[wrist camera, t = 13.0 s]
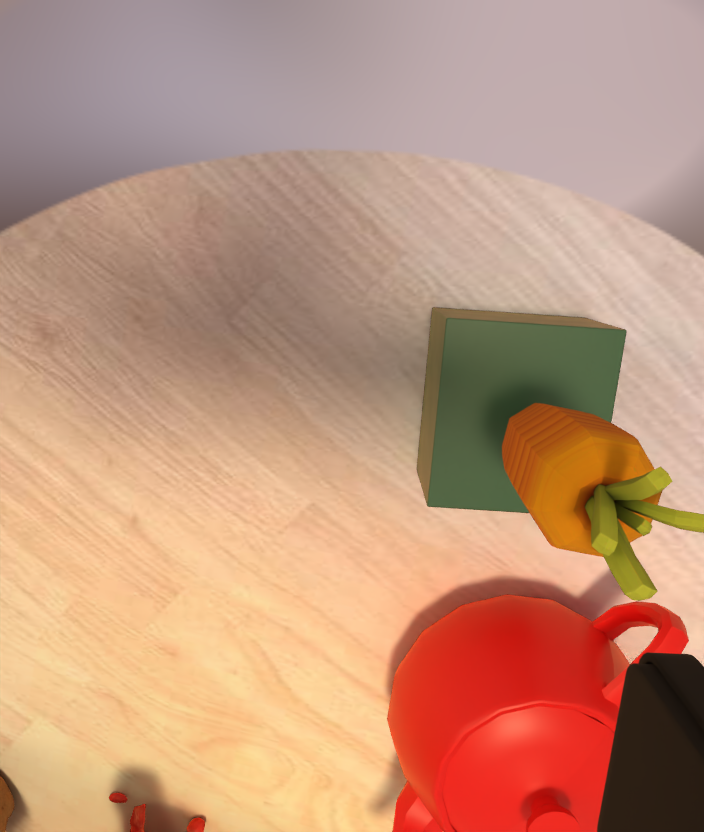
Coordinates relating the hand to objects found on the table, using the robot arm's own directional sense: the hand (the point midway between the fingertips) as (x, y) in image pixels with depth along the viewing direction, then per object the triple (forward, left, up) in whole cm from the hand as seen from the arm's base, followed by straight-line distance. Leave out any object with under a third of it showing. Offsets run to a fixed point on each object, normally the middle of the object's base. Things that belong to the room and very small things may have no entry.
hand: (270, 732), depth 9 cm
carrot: (+2, +10, -26) cm, 28 cm away
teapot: (+22, +12, -32) cm, 40 cm away
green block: (+2, +10, -31) cm, 33 cm away
